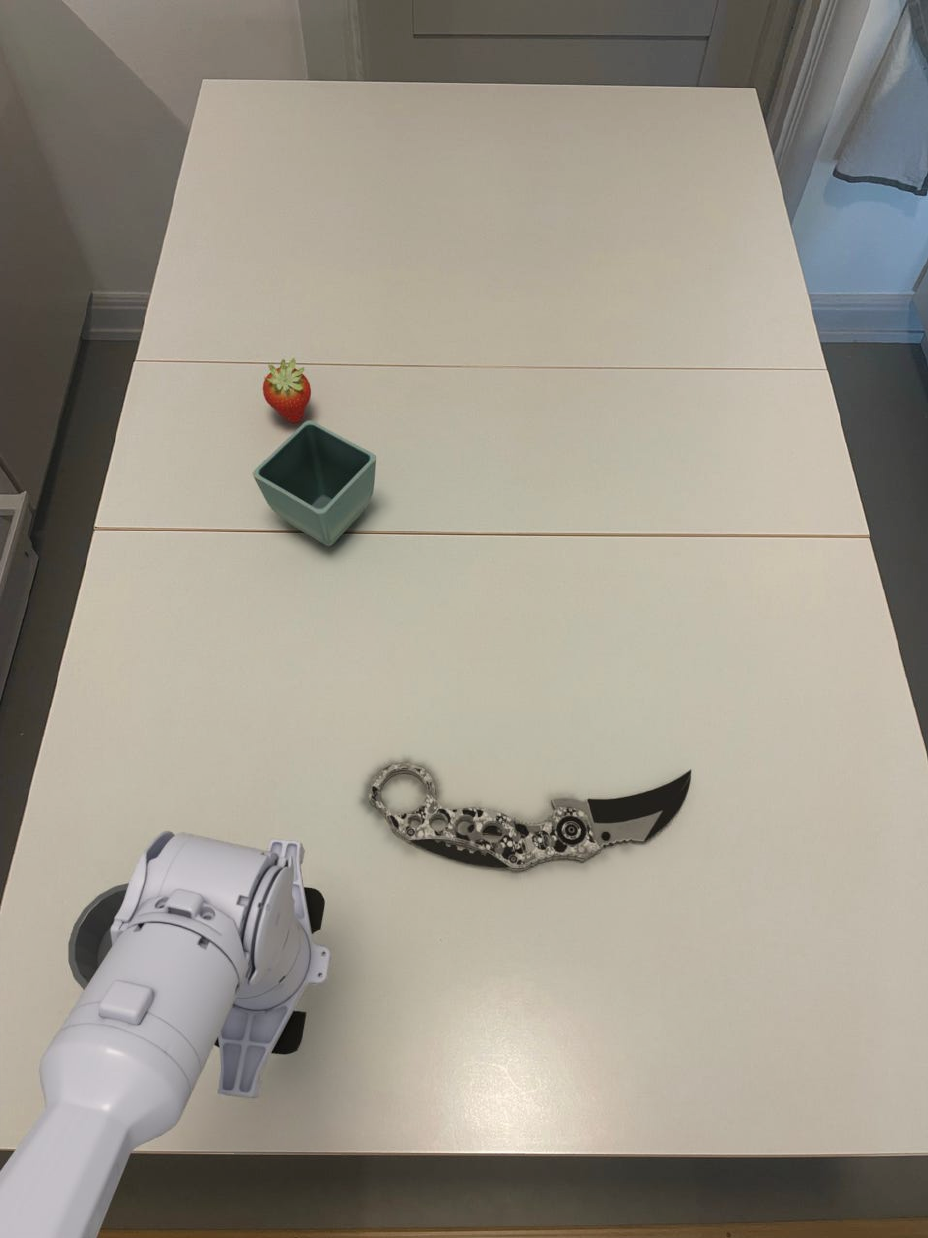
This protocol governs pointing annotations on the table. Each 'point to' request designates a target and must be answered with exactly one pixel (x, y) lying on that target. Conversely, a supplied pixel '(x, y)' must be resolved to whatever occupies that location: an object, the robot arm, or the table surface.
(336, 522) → the flower pot
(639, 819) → the knife
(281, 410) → the fruit
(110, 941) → the holder
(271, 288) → the table surface
